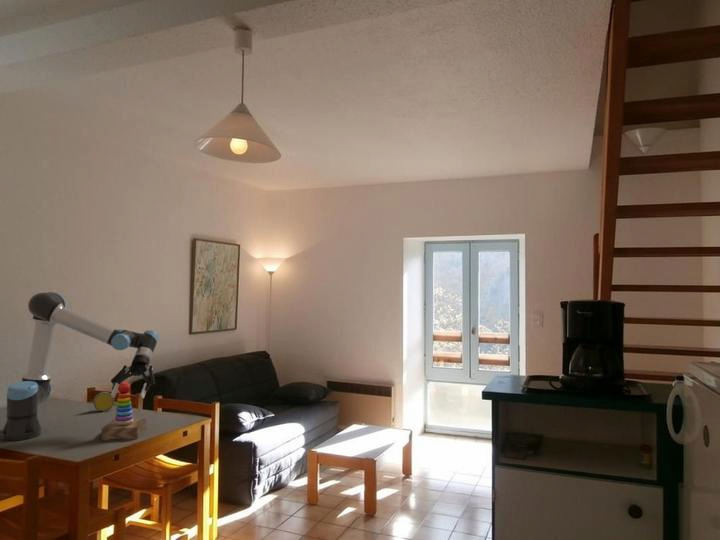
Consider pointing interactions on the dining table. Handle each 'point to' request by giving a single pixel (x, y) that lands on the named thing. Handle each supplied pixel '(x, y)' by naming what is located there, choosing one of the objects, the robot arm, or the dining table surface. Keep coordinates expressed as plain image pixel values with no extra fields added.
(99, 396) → the decorative artifact
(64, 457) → the dining table surface
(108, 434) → the walnut block
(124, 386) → the stacking toy
